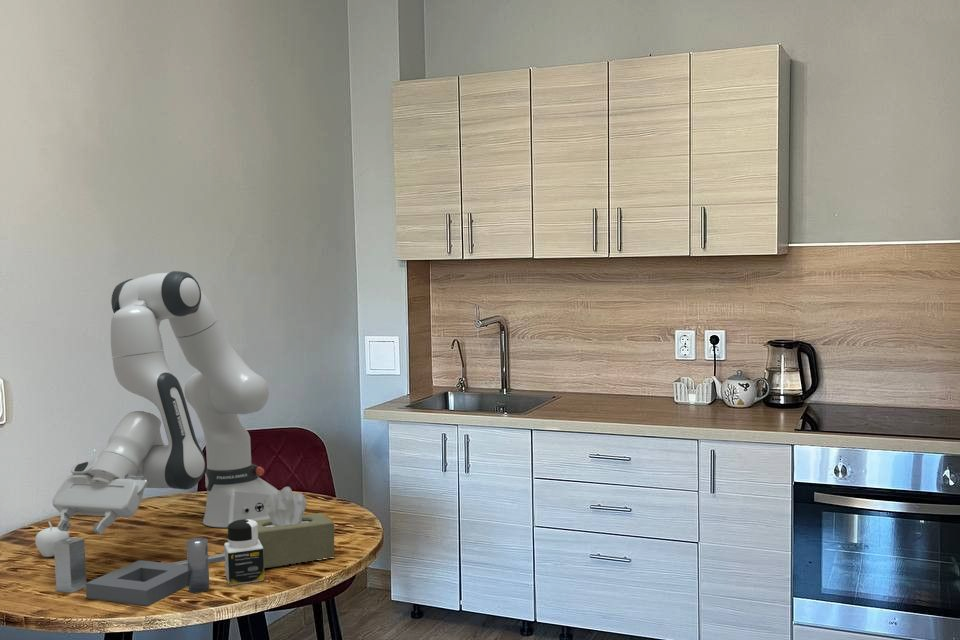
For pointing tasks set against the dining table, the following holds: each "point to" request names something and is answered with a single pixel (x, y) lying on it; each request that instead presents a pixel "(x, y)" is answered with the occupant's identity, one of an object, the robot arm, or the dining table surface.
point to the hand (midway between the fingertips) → (79, 531)
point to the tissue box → (293, 531)
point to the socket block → (139, 583)
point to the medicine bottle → (243, 553)
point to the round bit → (198, 565)
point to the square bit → (70, 564)
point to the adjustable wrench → (210, 559)
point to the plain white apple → (49, 540)
